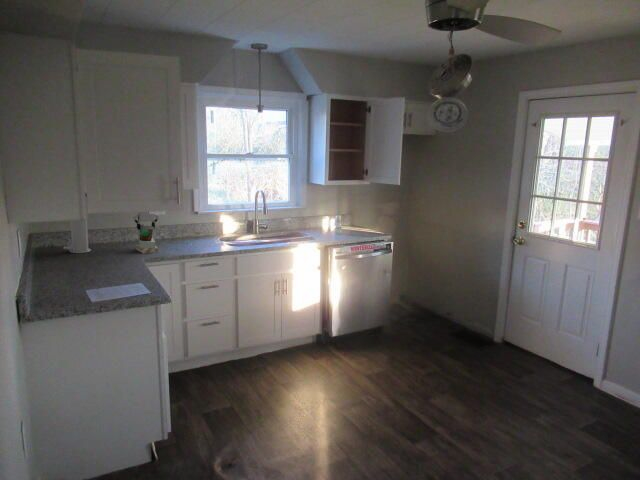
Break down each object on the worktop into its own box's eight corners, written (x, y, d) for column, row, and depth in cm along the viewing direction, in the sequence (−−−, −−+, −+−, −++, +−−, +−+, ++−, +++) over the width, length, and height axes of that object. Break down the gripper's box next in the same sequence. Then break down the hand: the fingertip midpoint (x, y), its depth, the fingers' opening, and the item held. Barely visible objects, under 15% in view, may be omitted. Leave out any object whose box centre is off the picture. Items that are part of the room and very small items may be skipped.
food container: (133, 238, 318) (135, 223, 317) (141, 238, 323) (143, 224, 322) (144, 241, 311) (145, 226, 310) (152, 241, 316) (153, 226, 315)
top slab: (141, 248, 312) (141, 242, 311) (139, 244, 323) (139, 238, 322) (155, 247, 316) (155, 241, 315) (153, 243, 327) (153, 238, 326)
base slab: (142, 254, 312) (142, 248, 311) (136, 250, 322) (136, 244, 322) (157, 253, 318) (157, 247, 317) (150, 249, 329) (150, 243, 328)
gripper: (135, 204, 306) (135, 230, 309) (160, 204, 318) (160, 229, 321) (131, 203, 312) (131, 228, 315) (156, 203, 323) (156, 227, 326)
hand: (145, 229), depth 318 cm, fingers open, 9 cm apart
